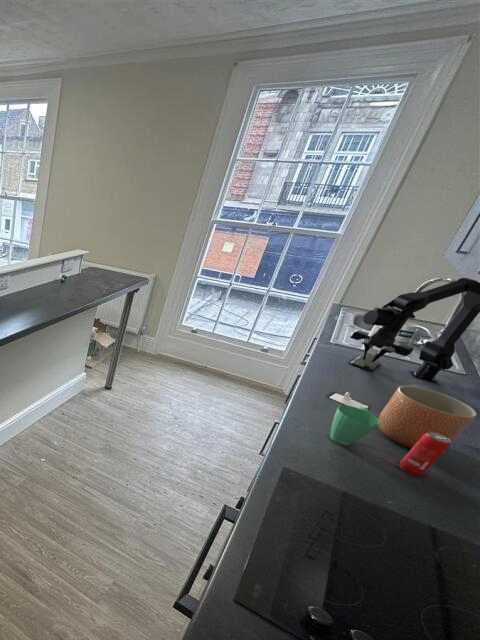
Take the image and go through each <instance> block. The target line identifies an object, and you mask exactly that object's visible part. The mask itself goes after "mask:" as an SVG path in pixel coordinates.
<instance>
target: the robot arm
mask: <svg viewBox="0 0 480 640" xmlns="http://www.w3.org/2000/svg"><path fill="white" fill-rule="evenodd" d="M460 294H464V295H463V298H462V304H463V305H462V306H461V308H459V311H457V313H456V314H455V315H454V317H452V319H451V321H450V322H449V323H448V325H447V326H446V327H445V328H444V330H443V331H442V333H440V335H439V336H438V337H437V339H434V340H432V341H429V340H428V341H426V342H425V344H424V345H423V347H421V348H420V352H419V357H418V360H420V361H423V362H422V363H421V364H420V366H419V367H418V368H417V370H411V373H412V374H413V376H414V377H415V378H418V379H420V380H421V379H422V380H426V381H430V382H432V383H433V382H434V383H436V382H437V379H435V377H436V376H437V375H438V374H439V373H440V371H441V370H442V371H445V370H450V369H451V368H452V367H453V366H454V364H453V360H452V357H453V356H454V354H455V351H456V348H455V347H456V346H455V345H456V343H457V341H459V339H460V338H461V336H462V335H463V334H464V333H465V331H467V329H468V328H469V326H470V325H471V324H472V323H473V321H474V320H475V319H476V318H477V316H478V315H479V314H480V282H479V281H478V280H475V279H472V278H468V277H461V278H458V279H457V280H455V281H451V282H449V283H446V284H443V285H440V286H436V287H433V288H430V289H428V290H427V289H426V290H424V291H419V292H418V291H417V292H415V291H414V292H408V293H402V294H399V295H398V296H396V297H394V299H392V300H391V301H389V302H388V303H386V304H384V305H383V306H382V307H377V306H376V307H374V308H373V309H371V310H369V311H367V312H365V313H364V315H363V318H362V320H363V323H364V324H365V325H369V326H379V328H378V330H377V331H375V332H374V333H373V334H372V335H371V336H370V335H369V332H366V331H363V330H360V329H359V330H358V329H357V330H355V331H353V332H351V334H350V335H349V338H350V339H353V340H354V341H355V340H356V341H360V340H362V342H361V345H363V347H364V353H363V356H364V358H363V360H365V358H366V354H367V352H368V351H369V349H370V348H373V349H374V347H376V348H378V349H380V351H378V352H377V356H376V357H375V358H374V359H373V360H372V362H371V363H373V362H374V361H378V360H379V359H380V358H382V357H383V356H384V355H386V354H391V353H395V354H397V355H400V356H403V357H407V356H410V355H411V354H412V353H413V351H414V350H415V349H414V347H413V346H410V345H408V344H403V343H401V344H395V342H396V340H397V339H396V338H397V336H398V334H399V333H400V332H401V330H402V329H403V327H404V326H405V324H406V323H407V322H408V320H409V319H416V315H415V314H414V313H416V312H419V311H421V310H423V309H425V308H427V306H428V305H430V304H433V303H435V302H438V301H441V300H444V299H447V298H451V297H455V296H456V295H460Z"/></svg>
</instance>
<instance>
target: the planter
mask: <svg viewBox="0 0 480 640" xmlns="http://www.w3.org/2000/svg"><path fill="white" fill-rule="evenodd" d="M477 416H478V413H477V411H476V410H475V409H474V408H473V407H471V406H470V405H468V404H467V403H465V402H464V401H461V400H459V399H457V398H455V397H453V396H450V395H448V394H446V393H442V392H439V391H436V390H434V389H430V388H425V387H421V386H415V385H401V386H398V388H397V389H396V390H395V392H394V393H393V395H392V396H391V397H390V399H389V400H388V402H387V403H386V404H385V406H384V408H383V409H382V411H381V412H380V414H379V416H378V419H379V421H380V424H379V425H378V426H377V427H378V428H379V430H380V432H381V433H382V434H383V435H384V436H385V437H386V438H387V439H388V440H390V441H392V442H394V443H395V444H397V445H400V446H402V447H404V448H408V449H410V450H411V449H412V448H413V447H414V445H415V444H416V443H417V442H418V441H419V440H420V438H421V437H422V436H423V435H424V434H426V433H427V432H434V433H438V434H441V435H443V436H445V437H447V438H448V439H449V440H450V441H451V442H452V441H453V440H455V439H456V438H457V437H458V436H459V435H460V434H461V433H462V432H463V431H464V430H465V429H466V428H467V427H468V426H469V425H470V424H471V423H472V422H473V421H474V420H475V418H476V417H477Z"/></svg>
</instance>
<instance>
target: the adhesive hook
mask: <svg viewBox="0 0 480 640" xmlns="http://www.w3.org/2000/svg"><path fill="white" fill-rule="evenodd" d="M350 396H351V394H350V391H347V392H346V393H344V395H343V394H340V393H337V392H335V393H334V394H332V395H331V396H329V397H328V398H329V399H331V400H333V401H336V402H339V403H341V404H342V405H346V406H352V407H356V408H360V407H364V408H367V409H368V408H369V406H368V405H366V404H363V403H362V402H359V401H357V400H355V399H352V397H350Z"/></svg>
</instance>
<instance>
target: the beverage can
mask: <svg viewBox="0 0 480 640" xmlns="http://www.w3.org/2000/svg"><path fill="white" fill-rule="evenodd" d="M451 443H452V441H450V440H449V439H448V438H447V437H445V436H443V435H441V434H438V433H434V432H427V433H426V434H424V435H423V436H422V437H421V438H420V440H419V441H418V442H417V443H416V444H415V445H414V447H413V448H412V449H411V448H410V450H409V451H408V452H407V454H406V455H405V456H404V457H403V458H402V459H401V460H400V461H399V462H400V463H399V468H400V469H401V470H402V471H404V472H406V473H408V474H410V475H413V476H421V475H424V474H426V472H427V471H428V470H429V469H430V468H431V467H432V466H433V464H434V463H435V462H436V461H437V460H438V459H439V458H440V457H441V456H442V455H443V454H444V452H445V451H446V450H447V449H448V448H449V447H450V446H451Z"/></svg>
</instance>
